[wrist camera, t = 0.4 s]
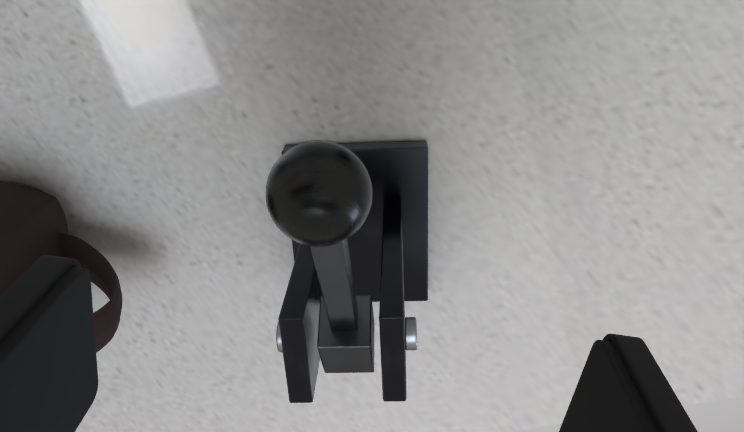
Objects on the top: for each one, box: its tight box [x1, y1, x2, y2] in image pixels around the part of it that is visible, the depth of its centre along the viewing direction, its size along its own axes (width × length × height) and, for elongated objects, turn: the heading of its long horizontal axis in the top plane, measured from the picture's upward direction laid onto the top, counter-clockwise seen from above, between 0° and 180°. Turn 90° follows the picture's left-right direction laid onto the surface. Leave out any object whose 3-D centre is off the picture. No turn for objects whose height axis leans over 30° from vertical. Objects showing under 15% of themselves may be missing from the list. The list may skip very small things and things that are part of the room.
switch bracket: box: [276, 141, 428, 403], centre depth 30 cm, size 10×8×13 cm
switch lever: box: [266, 140, 374, 373], centre depth 22 cm, size 13×3×3 cm, turn 3°
